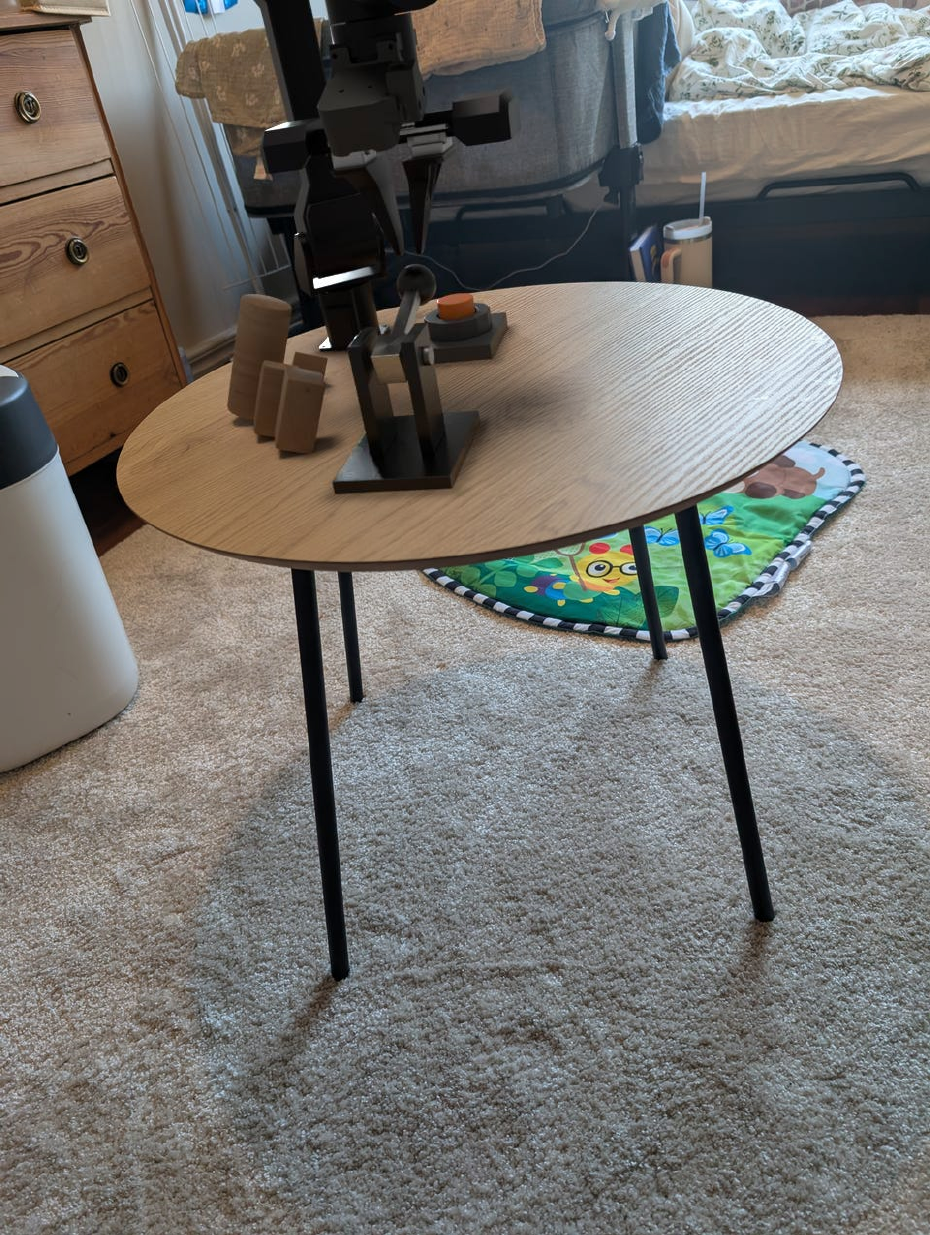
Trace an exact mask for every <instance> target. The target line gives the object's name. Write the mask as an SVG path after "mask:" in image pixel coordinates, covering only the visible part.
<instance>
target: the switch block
mask: <svg viewBox="0 0 930 1235" xmlns="http://www.w3.org/2000/svg"><path fill="white" fill-rule="evenodd" d="M474 308H475V313H474V314H472V315H470V316H468V317H464V318H460V319H452V320H444V319H440V318H439V312H438V308H436V309H433V310H431V311H430V312H427V313H426V314H425V316H424V318H423V323H424V322H427V324H428V330H429V336H430V341H431V346H432V348H433V352H434V365H437V364H449V363H461V362H475V361H485V360H492V359H493V358H494V357H495V354H496V352H497V350H498V348H499V346H500V344H501V342H502V339H503V337H504V335H505V334H506V332H507V330H508V328H509V327H508V326H509V325H508V317H507V311H502V312H491V307H490V306H489V305H487V304H485V303H483V302H482V303H481V302H474Z"/></svg>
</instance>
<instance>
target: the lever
mask: <svg viewBox="0 0 930 1235" xmlns="http://www.w3.org/2000/svg"><path fill="white" fill-rule="evenodd" d="M396 291H397V294H398V296H399V298H400V299H401V302H400V306H399V308H398V311H397V314H396V317H395V321H394V322H393V326H392V329H391V332H390V333H389V334H388V333H387V334H386V335H378V337H377V340H376V343H375V346H374V349H373V351H372V354H371V357H370V358H371V361H372V364H373V367H374V370H375V374H376V377H377V380H378V383H379V384H388V385H393V384H402V383H403V384H405V383H408V380H407V375H406V370H405V364H404V359H403V354H402V349H401V342H402V341H403V339H404V338H405V336H406V335H407V334H408V332H409V331H410V330H411V328H412V327H413V325H414V324H415V320H416V317H417V314H418V311H419V308H420V307H422V306H425V305H427V304H428V303H430V302H431V301H432V300H433V298H434V296H435V294H436V291H437V280H436V277H435V275H434V273H433V272H432V270H430V269H429V268H428V267H427V266H425V265H423V264H419V263H414V264H409V265H407V266H406V267H404V268H403V269H402V270H401V271H400V272H399V274H398V276H397V279H396Z"/></svg>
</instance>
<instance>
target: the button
mask: <svg viewBox="0 0 930 1235" xmlns="http://www.w3.org/2000/svg"><path fill="white" fill-rule="evenodd" d="M474 303H475V302H474V295H473V294H471V293H466V292H465V293H462V292H461V293H453V294H449V295H445V296H443V297H441V298H438V299H437V301H436V305H437V309H438V312H439V318H440V319H444V320H452V319H460V318H464V317H468V316H470V315H472V314H474V313H475V308H474Z"/></svg>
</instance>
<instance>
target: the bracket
mask: <svg viewBox="0 0 930 1235" xmlns="http://www.w3.org/2000/svg"><path fill="white" fill-rule="evenodd" d="M377 337H378V335H377V330H376V327H369V328H363V330H362V331H361V332H360V333H359V334H358V335H357V337H356V338H355V339H354V340H353V341H352V342H351V343H350V345H349V346H348V347H347V350H346V351H347V355H348V359H349V364H350V368H351V373H352V378H353V381H354V386H355V391H356V395H357V400H358V405H359V408H360V413H361V417H362V422H363V428H364V434H363V435H362V436H361V438H360V440H359V441H358V442H357V443H356V445H355V447H354V448H353V450H352V451H351V453H350V455H349V456H348V457H347V459H346V461H345V462H344V463H343V465H342V467H341V468H340V470H339V471H338V473H337V474H336V476H335V477H334V479H333V480H332V482H331V484H332V487H333V491H334V494H335V495H341V494H343V495H344V494H364V493H365V494H366V493H385V492H386V493H387V492H405V491H406V492H407V491H408V492H409V491H426V490H427V491H431V490H449V489H452V488H454V487H453V486H454V485H455V482H456V480H457V477H458V475H459V472H460V471H461V469H462V465H463V463H464V461H465V458H466V456H467V454H468V452H469V449H470V447H471V444H472V442H473V440H474V437H475V435H476V433H477V430H478V428H479V425H480V423H481V417H480V411H479V410H478V409H477V410H465V411H451V412H443V406H442V402H441V401H442V400H441V396H440V390H439V389H440V388H439V384H438V376H437V372H436V371H437V370H436V366H435V365H436V364H434V352H433V348H432V346H431V341H430V336H429V330H428V324H427V322H424V321H423V322H416V323H415V322H414V324H413V327H412V328H411V330H410V331H409V332H408V334H407V335H406V336H405V338H404V339H403V341H402V342H401V349H402V354H403V359H404V364H405V370H406V375H407V385H408V389H409V396H410V400H411V401H410V402H411V406H412V412H413V414H404V415H403V414H402V415H394V408H393V404H392V400H391V395H390V390H389V384H379V383H378V380H377V377H376V374H375V370H374V367H373V364H372V361H371V358H370V357H371V354H372V351H373V349H374V346H375V343H376V340H377Z"/></svg>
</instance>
